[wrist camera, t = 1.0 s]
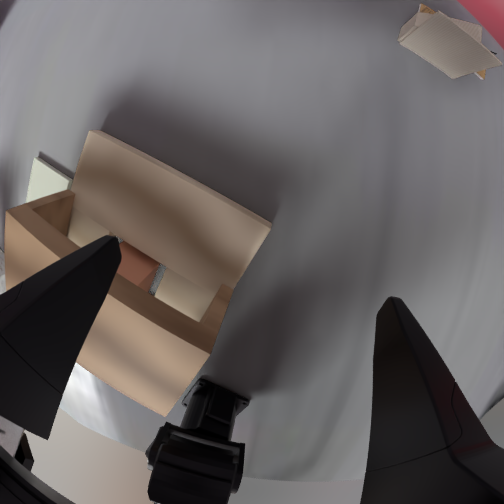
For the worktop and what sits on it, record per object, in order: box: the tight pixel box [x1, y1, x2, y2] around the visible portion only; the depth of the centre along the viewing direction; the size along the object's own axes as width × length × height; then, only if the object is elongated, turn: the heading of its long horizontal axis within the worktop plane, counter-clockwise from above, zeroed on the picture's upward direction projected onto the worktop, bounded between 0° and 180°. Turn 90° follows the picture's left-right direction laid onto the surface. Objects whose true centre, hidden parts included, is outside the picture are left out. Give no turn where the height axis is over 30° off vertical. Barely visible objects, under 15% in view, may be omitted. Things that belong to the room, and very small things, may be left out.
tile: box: [26, 157, 73, 203], centre depth 22 cm, size 9×6×1 cm
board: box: [66, 130, 272, 322], centre depth 22 cm, size 16×17×2 cm
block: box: [117, 241, 160, 292], centre depth 20 cm, size 4×4×7 cm
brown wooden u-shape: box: [4, 189, 233, 417], centre depth 18 cm, size 9×17×7 cm, turn 61°
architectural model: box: [397, 3, 502, 80], centre depth 10 cm, size 3×7×7 cm, turn 70°
